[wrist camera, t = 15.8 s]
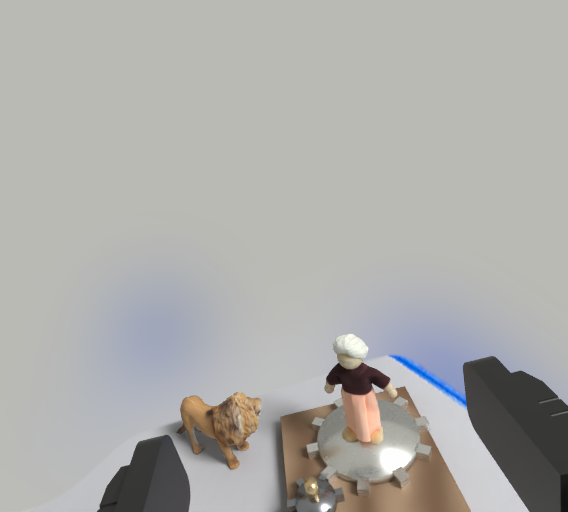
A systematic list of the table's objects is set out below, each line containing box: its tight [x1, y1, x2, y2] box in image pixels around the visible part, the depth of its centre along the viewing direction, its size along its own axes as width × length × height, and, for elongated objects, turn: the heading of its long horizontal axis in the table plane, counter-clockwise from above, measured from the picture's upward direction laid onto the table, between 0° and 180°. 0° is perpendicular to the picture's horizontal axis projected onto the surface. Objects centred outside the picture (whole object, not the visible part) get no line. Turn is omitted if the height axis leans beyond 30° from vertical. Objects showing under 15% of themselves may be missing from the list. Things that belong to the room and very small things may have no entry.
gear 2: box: [307, 395, 432, 497], centre depth 46 cm, size 13×13×1 cm
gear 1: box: [287, 474, 345, 512], centre depth 40 cm, size 6×5×3 cm
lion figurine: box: [177, 392, 262, 469], centre depth 51 cm, size 15×5×9 cm, turn 63°
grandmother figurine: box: [325, 334, 397, 444], centre depth 43 cm, size 8×4×13 cm, turn 78°
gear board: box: [281, 386, 471, 512], centre depth 45 cm, size 16×17×2 cm
